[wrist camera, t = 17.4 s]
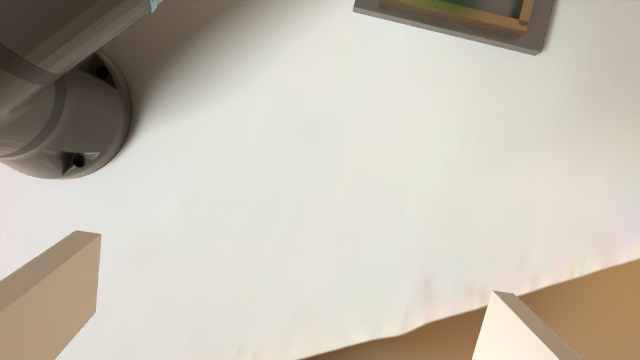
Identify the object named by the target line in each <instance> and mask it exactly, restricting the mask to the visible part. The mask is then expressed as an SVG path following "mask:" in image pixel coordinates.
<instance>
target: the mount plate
mask: <svg viewBox="0 0 640 360" xmlns="http://www.w3.org/2000/svg"><path fill="white" fill-rule="evenodd" d="M553 1H554V0H355V4H354V8H353V12H357V13H361V14H365V15H369V16H373V17H377V18H381V19H386V20H390V21H394V22H398V23H402V24H406V25H410V26H415V27H419V28H423V29H427V30H431V31H435V32H439V33H444V34H448V35H452V36H456V37H460V38H464V39H468V40H473V41H477V42H481V43H485V44H489V45H493V46H497V47H501V48H506V49H510V50H514V51H518V52H522V53H526V54H530V55H537V54H538V53H540V52H541V49H542V45H543V41H544V37H545V33H546V29H547V25H548V21H549V17H550V13H551V9H552V5H553Z"/></svg>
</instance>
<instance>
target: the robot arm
mask: <svg viewBox="0 0 640 360" xmlns="http://www.w3.org/2000/svg"><path fill="white" fill-rule="evenodd" d="M162 1H163V0H0V162H1V163H3V164H5V165H7V166H9V167H11V168H13V169H15V170H17V171H19V172H21V173H24V174H26V175H29V176H33V177H37V178H43V179H73V178H78V177H82V176H85V175H88V174H90V173H92V172H94V171H96V170H98V169H100V168H101V167H102V166H104V165H105V164H106V163H108V162H109V161H110V160H111V159H112V158H113V157H114V156H115V154H116V153H117V152H118V151H119V149H120V148H121V146H122V144H123V142H124V141H125V138H126V136H127V134H128V131H129V127H130V123H131V116H132V104H131V96H130V92H129V88H128V85H127V83H126V81H125V79H124V77H123V75H122V73H121V72H120V70H119V69H118V67H117V66H116V65H115V64H114V63H113V62H112V61H111V60H110V59H109V58H108V57H107V56H106V55H104V54H103V53H102V52H100V51H98V50H99V49H100V48H102V47H103V46H104V45H106V44H107V43H108V42H110V41H111V40H112V39H114V38H115V37H116V36H118V35H119V34H120V33H122V32H123V31H124V30H126V29H127V28H128V27H130V26H131V25H133V24H134V23H135V22H137V21H138V20H139V19H141V18H142V17H143V16H145V15H146V14H152V13H153V12H154V10H155V9H156V8H157V5H158V4H159V3H161V2H162ZM100 246H101V234H97V233H90V232H83V231H75V232H73V233H72V234H70V235H69V236H67V237H66V238H64V239H63V240H61V241H60V242H58V243H57V244H55V245H54V246H52V247H51V248H49V249H48V250H46V251H45V252H43V253H42V254H40V255H39V256H37V257H36V258H34V259H33V260H31V261H30V262H28V263H27V264H25V265H24V266H22V267H21V268H19V269H18V270H16V271H15V272H13V273H12V274H10V275H9V276H7V277H6V278H4V279H3V280H1V281H0V360H55V358H56V357H57V356H58V355H59V354H60V353H61V351H62V350H63V349H64V348H65V347H66V346H67V345H68V343H69V342H70V341H71V340H72V339H73V338H74V336H75V335H76V334H77V333H78V332H79V331H80V330H81V328H82V327H83V326H84V325H85V324H86V323H87V322H88V320H89V319H90V318H91V317H92V316H93V315H94V313H95V312H96V299H97V286H98V272H99V259H100ZM472 360H583V359H582V358H581V357H580V356H578V355H577V354H576V353H575V352H574V351H573V350H572V349H571V348H570V347H569V346H568V345H567V344H566V343H565V342H564V341H563V340H562V339H561V338H560V337H558V336H557V335H556V334H555V333H554V332H553V331H552V330H551V329H550V328H549V327H548V326H546V324H545V323H544V322H542V320H541V319H539V318H538V317H537V316H536V315H535V314H534V313H533V312H532V311H531V310H530V309H529V308H528V307H527V306H526V305H525V304H524V303H522V302H521V301H520V300H519V299H518V298H517V297H516V296H515V295H514V294H513V293H506V292H499V291H492V294H491V297H490V301H489V304H488V307H487V311H486V314H485V318H484V321H483V324H482V328H481V331H480V335H479V338H478V341H477V344H476V348H475V351H474V355H473V358H472Z"/></svg>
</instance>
